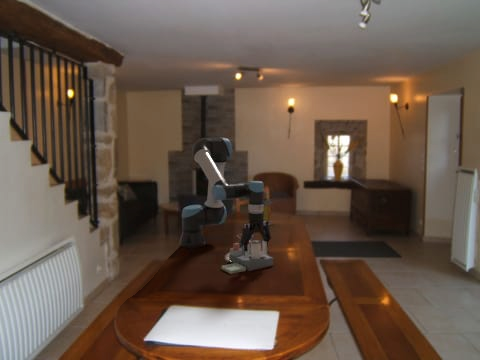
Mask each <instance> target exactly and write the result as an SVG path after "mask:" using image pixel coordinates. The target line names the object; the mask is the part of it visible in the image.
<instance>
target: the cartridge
mask: <svg viewBox="0 0 480 360" xmlns="http://www.w3.org/2000/svg"><path fill="white" fill-rule="evenodd" d="M261 253H262V241H261V240H258V239H257V240H256V239H255V240H254V239H252V242H251V259H252V260H259V259H261Z"/></svg>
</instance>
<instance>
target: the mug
mask: <svg viewBox="0 0 480 360" xmlns="http://www.w3.org/2000/svg"><path fill="white" fill-rule="evenodd" d="M241 237H242V233H238V234H236V238H237V241H238V243H239V248H241V249H242V251H243V246H244V244H241V243H240V241H241ZM253 238H254V235H253V234H252V237H251V239H250V241H253V240H254V239H253Z"/></svg>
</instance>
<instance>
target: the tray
mask: <svg viewBox="0 0 480 360" xmlns="http://www.w3.org/2000/svg"><path fill="white" fill-rule="evenodd" d="M221 270H222V271H224V272H226V273H228V274H229V275H234V274H237V273H240V272H242V273H243V272H246V271H247V270H246V267H244V266H242V265H240V264H237V263H230V264H225V265H224V264H223V265H221Z"/></svg>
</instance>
